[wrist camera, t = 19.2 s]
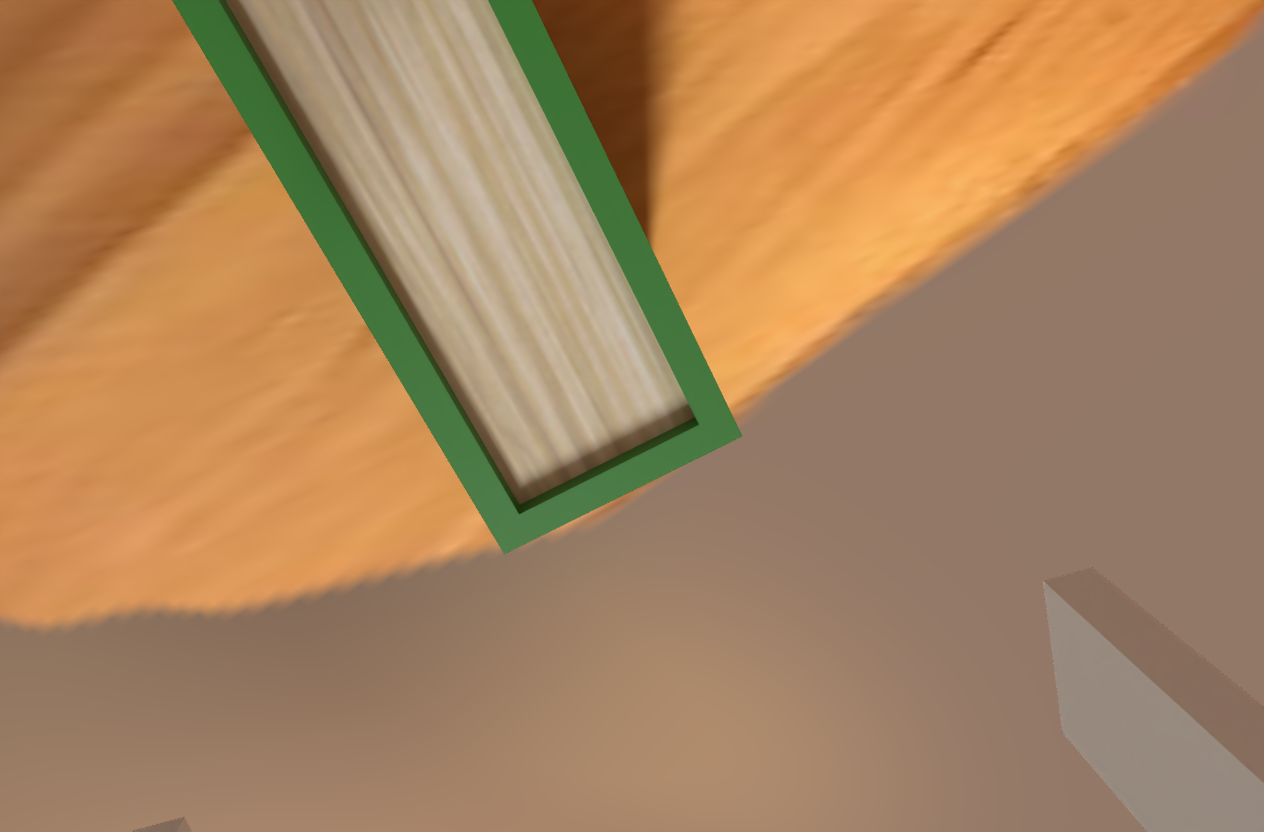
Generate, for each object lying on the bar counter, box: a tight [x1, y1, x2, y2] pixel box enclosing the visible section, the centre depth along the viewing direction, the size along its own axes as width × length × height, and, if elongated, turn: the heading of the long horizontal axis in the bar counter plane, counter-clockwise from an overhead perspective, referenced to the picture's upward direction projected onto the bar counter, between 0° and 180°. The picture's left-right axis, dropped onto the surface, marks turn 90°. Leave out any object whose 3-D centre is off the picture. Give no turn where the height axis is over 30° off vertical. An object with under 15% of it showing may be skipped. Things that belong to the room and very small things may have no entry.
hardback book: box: [172, 0, 742, 554], centre depth 36 cm, size 18×7×24 cm, turn 26°
